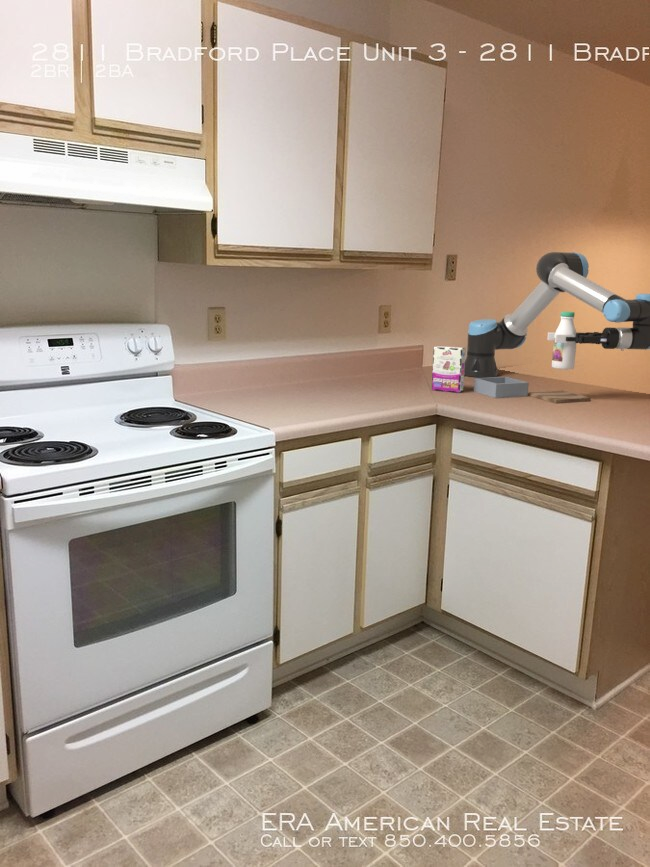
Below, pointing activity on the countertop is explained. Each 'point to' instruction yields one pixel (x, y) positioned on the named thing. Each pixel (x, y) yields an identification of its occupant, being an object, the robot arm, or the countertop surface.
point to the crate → (501, 387)
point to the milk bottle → (564, 344)
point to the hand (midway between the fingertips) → (552, 337)
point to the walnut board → (559, 396)
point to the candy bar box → (448, 369)
